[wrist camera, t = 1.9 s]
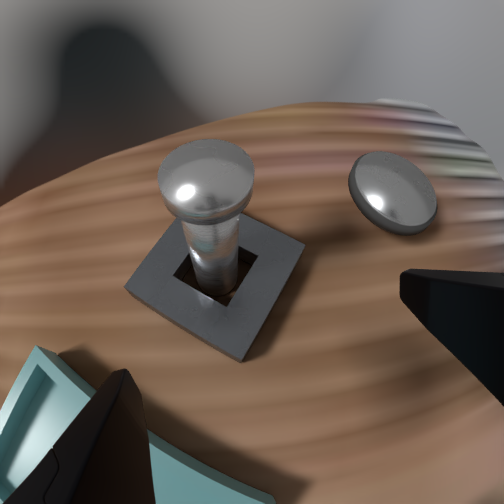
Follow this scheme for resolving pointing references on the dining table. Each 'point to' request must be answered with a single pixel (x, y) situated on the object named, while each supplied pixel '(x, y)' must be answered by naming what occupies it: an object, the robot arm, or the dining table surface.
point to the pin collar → (203, 307)
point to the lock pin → (209, 205)
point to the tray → (64, 412)
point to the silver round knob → (392, 193)
